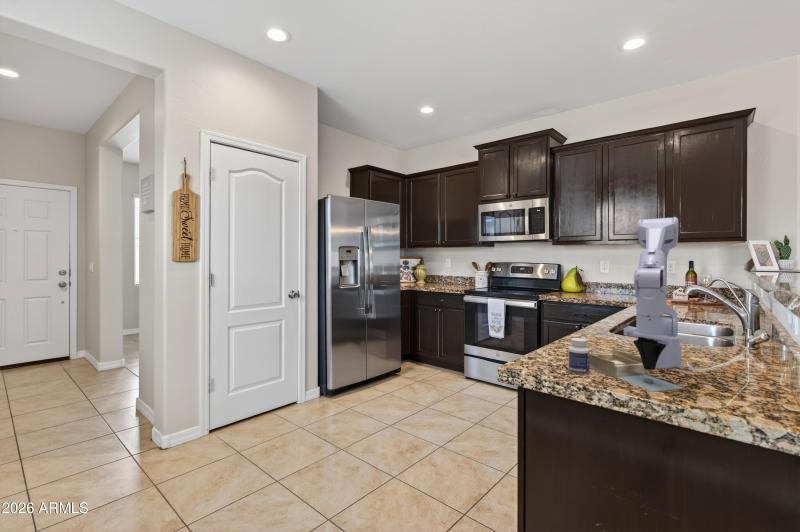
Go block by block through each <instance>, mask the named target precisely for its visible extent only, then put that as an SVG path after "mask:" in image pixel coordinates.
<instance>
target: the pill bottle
mask: <svg viewBox="0 0 800 532" xmlns="http://www.w3.org/2000/svg"><path fill="white" fill-rule="evenodd" d="M587 345H588V340H587V339H585V338H582V337H579V338H578V337H573V338H571V339H570V346H568V353H567V354H568V356H567V357H568V360H567V361H568V367H567V368H568V372H570V373H571V374H576V375H588V374H590V371H591V369H590V354H591V351H590V349H589V348H588V347H587Z"/></svg>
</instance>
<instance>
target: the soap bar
mask: <svg viewBox="0 0 800 532" xmlns="http://www.w3.org/2000/svg"><path fill="white" fill-rule="evenodd" d="M612 362H615V365H625V363H623V362H620V361H617V360H616V361H612Z"/></svg>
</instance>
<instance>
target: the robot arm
mask: <svg viewBox="0 0 800 532" xmlns="http://www.w3.org/2000/svg"><path fill="white" fill-rule="evenodd" d="M636 230H637V231H636V233H637V238H638V243H639V244H640V247H641V248H643V249H644V250H642V251H641V253H640V254H639V255H640V256H639V262H638V267H637V270H636V269H635V270H634V274H633V286H634V291H635V293H634V294H635V295H634V296H635V297H636V300H635V301H636V302H635V303H636V304H635V305H636V308H635V309H636V311H635V313H636V320H635V321H636V324H635V327H636V328H633V327H624V328H623V336H626V337H633V338H637V339H636V340H633V345H634V346H635V348H636V349H637V352H638V353H639V357H641V359H642V363H643V366H644V369H647V370H648V371H653V370H654V371H655V369H656V368H657V369H671V368H680V369H685V367H683V366H682V345H681V342H680V338H679V337H678V335H679V319H678V312H677V311H676V309H674V308H673V307H672V306H670V305H669V304H667V285H668V283H667V279H668V278H667V277H668V256H669V253H670V250H671V249H673V248H675V247H677V245H678V243H679V218H678V217H676V216H673V217H662V218H661V217H659V218H644V219H643V218H640V219H639V220H637V226H636Z"/></svg>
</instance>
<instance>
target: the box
mask: <svg viewBox="0 0 800 532" xmlns="http://www.w3.org/2000/svg"><path fill="white" fill-rule="evenodd" d="M616 360H617V361H620V362H623V363H625V365H615V362H612V361H616ZM590 370H593V371H595V372H598V373H600V374H602V375H605V376H608V377H611V378H613V379H615V378H616V377H622V376H634V375H645V374H646V375H648V376H649V370H647V369H644V366H643V363H642V359H641V356H637V355H633V354H631V353H627V352H624V351H621V350H617V349H612V350H611V353H601V354H599V353H598V354H591V353H590ZM616 379H617V378H616Z"/></svg>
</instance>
